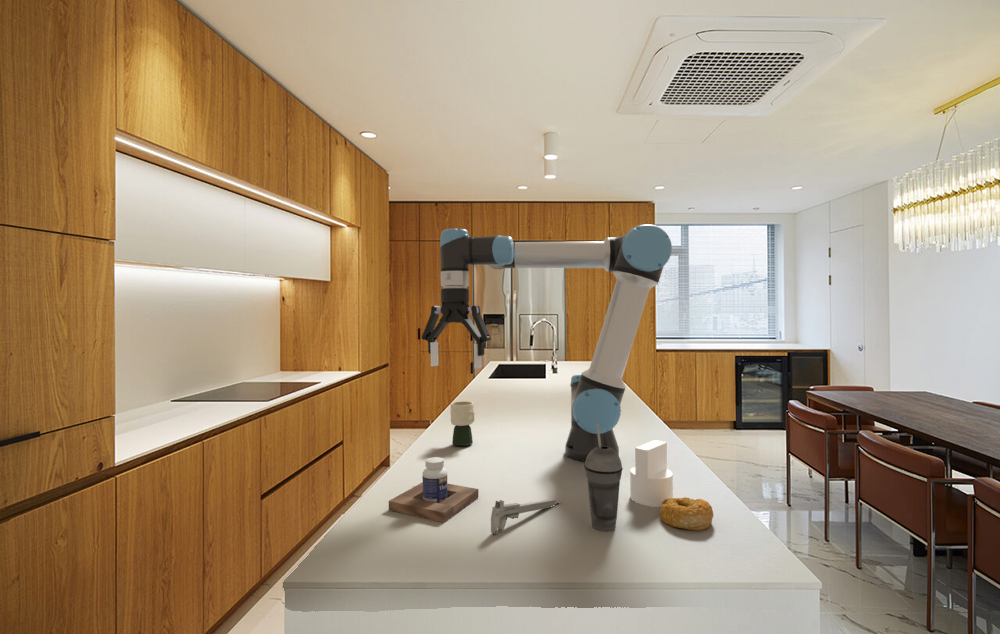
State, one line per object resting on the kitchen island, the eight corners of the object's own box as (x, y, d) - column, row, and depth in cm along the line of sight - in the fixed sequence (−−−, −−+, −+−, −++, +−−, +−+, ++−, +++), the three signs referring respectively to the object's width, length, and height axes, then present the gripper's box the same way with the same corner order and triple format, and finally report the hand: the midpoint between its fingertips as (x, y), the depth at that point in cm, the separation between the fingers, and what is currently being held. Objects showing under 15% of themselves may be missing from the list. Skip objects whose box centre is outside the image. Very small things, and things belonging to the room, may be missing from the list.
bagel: (701, 510, 104) (701, 487, 104) (722, 534, 93) (722, 509, 93) (653, 510, 105) (653, 487, 105) (668, 534, 94) (668, 509, 94)
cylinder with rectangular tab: (643, 488, 117) (643, 437, 117) (680, 498, 110) (680, 444, 110) (622, 498, 111) (622, 445, 110) (660, 510, 104) (660, 453, 104)
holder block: (478, 497, 112) (478, 489, 112) (444, 522, 99) (444, 512, 99) (426, 488, 118) (426, 479, 118) (388, 510, 105) (388, 500, 105)
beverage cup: (615, 538, 92) (615, 430, 92) (578, 528, 96) (578, 425, 95) (627, 523, 98) (627, 422, 98) (592, 515, 102) (592, 418, 102)
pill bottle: (443, 509, 105) (442, 464, 105) (419, 508, 107) (418, 462, 106) (450, 500, 111) (450, 456, 110) (427, 498, 112) (427, 455, 112)
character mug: (482, 446, 153) (482, 403, 152) (465, 450, 148) (464, 407, 148) (460, 439, 161) (459, 399, 160) (442, 443, 156) (442, 402, 155)
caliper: (495, 537, 93) (494, 504, 93) (490, 535, 94) (490, 502, 94) (559, 504, 108) (559, 475, 108) (555, 503, 109) (555, 474, 109)
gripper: (408, 288, 135) (409, 366, 136) (489, 286, 124) (490, 371, 124) (424, 289, 142) (425, 363, 142) (502, 287, 131) (503, 367, 131)
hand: (455, 367), depth 133 cm, fingers open, 13 cm apart
